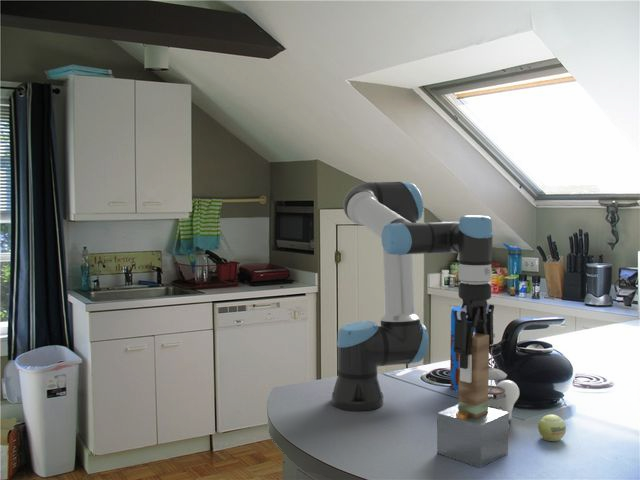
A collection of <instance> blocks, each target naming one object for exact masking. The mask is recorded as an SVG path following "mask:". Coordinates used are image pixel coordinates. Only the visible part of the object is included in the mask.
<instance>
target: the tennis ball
mask: <svg viewBox="0 0 640 480" xmlns="http://www.w3.org/2000/svg"><path fill="white" fill-rule="evenodd" d="M537 426H538V427H537V429H538V432H539V434H540V436H541V437H543V440H544V441H548V442H559V441H560V440H561V439H562V438H564V437H565V434H566V431H567V427H566V424H565V421H564V419H562V418H561V417H560V416H558V415H556V414H552V413H551V414H547V415H544V416H543V417H541V419H540V420H539V422H538V425H537Z"/></svg>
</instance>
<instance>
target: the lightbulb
mask: <svg viewBox="0 0 640 480" xmlns="http://www.w3.org/2000/svg"><path fill="white" fill-rule="evenodd" d="M496 386H499V387H501V388H503V389H504V390H505V392H504V393H502V394H498V395H495V396H496V397H495V398H497V399H502V398H504V394H505V395H506V412H509V421H510V420H512V417H513V416H512V415H513V413H512V412H513V408H514V405H515V404H516V402H517V401H518V399H519V397H520V388H519V387H518V385H517V383H516V382H514V381H513V380H510V379H503V380H500V381H499V382H498V383H497V384H496Z"/></svg>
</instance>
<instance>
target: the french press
mask: <svg viewBox="0 0 640 480" xmlns="http://www.w3.org/2000/svg"><path fill="white" fill-rule="evenodd" d="M494 338H496V334H495V333H494V332H493V339H494ZM490 346H492V347H493V345H490ZM492 362H493V348H492V349H490V367H489V380H490V385H489V384H488V407H489V408H493V409H497V410H501V411H505V412H506V395H505V394H504V398H502V399H497V397H494V396H496V395H498V394H502V393H504V392H505V390H504V389H503V388H501V387H499V386H497V385H493V383H492V382H493V381H503V380H506V379H507V376H508V374H507V373H506V372H504V371H503V370H501V369H498V368H496V367H495V368H494V367H493V363H492ZM489 380H488V381H489ZM489 395H491V396H489ZM509 428H510V424H509V426H508V429H509Z"/></svg>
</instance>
